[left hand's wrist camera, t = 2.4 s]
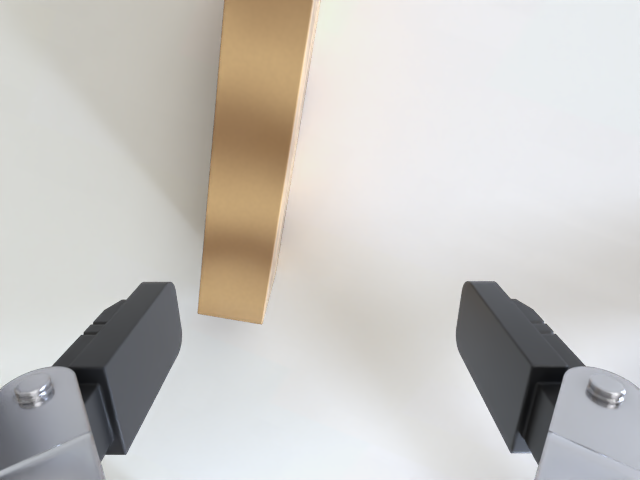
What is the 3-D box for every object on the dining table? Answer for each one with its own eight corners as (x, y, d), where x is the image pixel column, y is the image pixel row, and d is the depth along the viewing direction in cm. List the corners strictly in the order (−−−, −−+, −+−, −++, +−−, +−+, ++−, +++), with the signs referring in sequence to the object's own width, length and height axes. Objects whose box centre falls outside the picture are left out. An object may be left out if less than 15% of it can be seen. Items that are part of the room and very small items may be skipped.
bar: (261, -78, 26) (235, -140, 18) (330, -62, 26) (332, -117, 19) (224, 264, 35) (197, 314, 28) (275, 273, 35) (262, 325, 28)
